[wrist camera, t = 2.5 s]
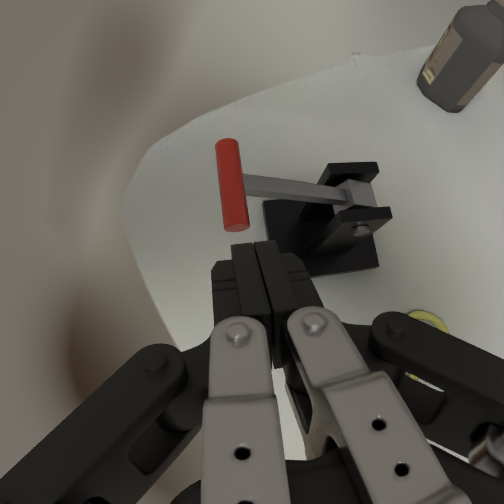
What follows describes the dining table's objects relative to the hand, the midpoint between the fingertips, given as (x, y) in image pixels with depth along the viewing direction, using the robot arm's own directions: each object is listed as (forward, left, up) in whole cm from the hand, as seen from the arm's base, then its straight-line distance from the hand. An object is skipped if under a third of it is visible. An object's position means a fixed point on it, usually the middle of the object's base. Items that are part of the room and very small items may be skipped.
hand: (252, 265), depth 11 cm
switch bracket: (+7, +10, -23) cm, 26 cm away
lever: (+2, +8, -11) cm, 14 cm away
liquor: (+24, +43, -23) cm, 55 cm away
